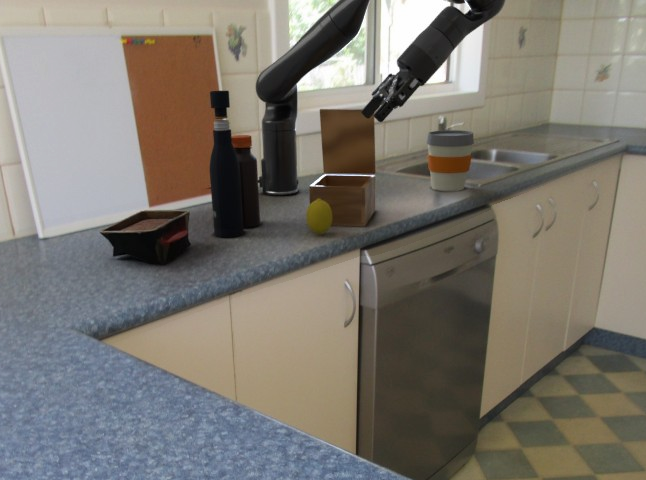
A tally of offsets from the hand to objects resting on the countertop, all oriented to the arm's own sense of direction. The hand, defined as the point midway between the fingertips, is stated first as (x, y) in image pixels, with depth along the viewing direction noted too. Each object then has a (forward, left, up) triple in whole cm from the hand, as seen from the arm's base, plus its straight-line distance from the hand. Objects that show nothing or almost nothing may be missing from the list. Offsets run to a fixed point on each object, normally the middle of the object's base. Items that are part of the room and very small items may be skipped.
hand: (370, 117), depth 136 cm
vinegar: (-29, +1, -24) cm, 38 cm away
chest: (-8, +11, -24) cm, 28 cm away
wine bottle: (-30, -7, -24) cm, 39 cm away
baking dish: (-40, -24, -24) cm, 53 cm away
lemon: (-10, -5, -24) cm, 27 cm away
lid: (-8, +16, -7) cm, 20 cm away
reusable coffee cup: (+14, +49, -24) cm, 56 cm away
